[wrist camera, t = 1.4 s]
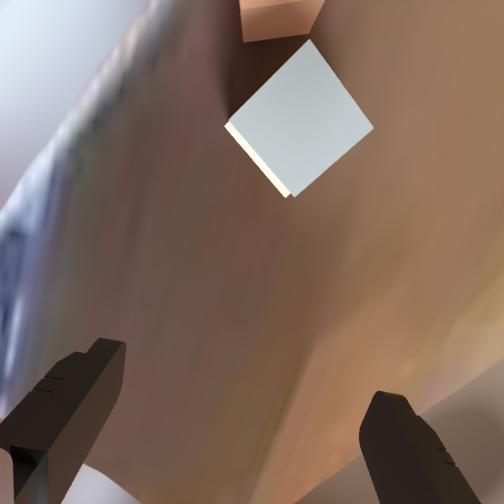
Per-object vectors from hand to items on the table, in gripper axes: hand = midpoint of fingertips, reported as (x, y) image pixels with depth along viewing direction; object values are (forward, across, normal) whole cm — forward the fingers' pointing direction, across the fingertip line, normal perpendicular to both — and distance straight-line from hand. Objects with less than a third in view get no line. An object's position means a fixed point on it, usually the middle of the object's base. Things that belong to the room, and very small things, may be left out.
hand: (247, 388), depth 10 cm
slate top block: (+16, -1, -9) cm, 19 cm away
